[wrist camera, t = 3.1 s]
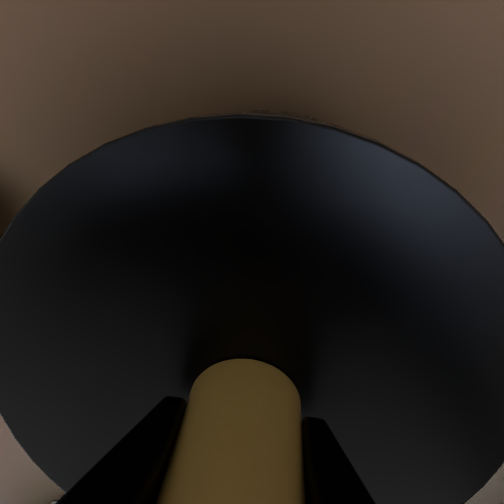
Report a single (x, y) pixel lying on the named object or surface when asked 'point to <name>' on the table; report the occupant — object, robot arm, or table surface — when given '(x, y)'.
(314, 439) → the robot arm
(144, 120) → the table surface
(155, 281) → the black disc with peg
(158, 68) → the table surface
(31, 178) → the table surface
